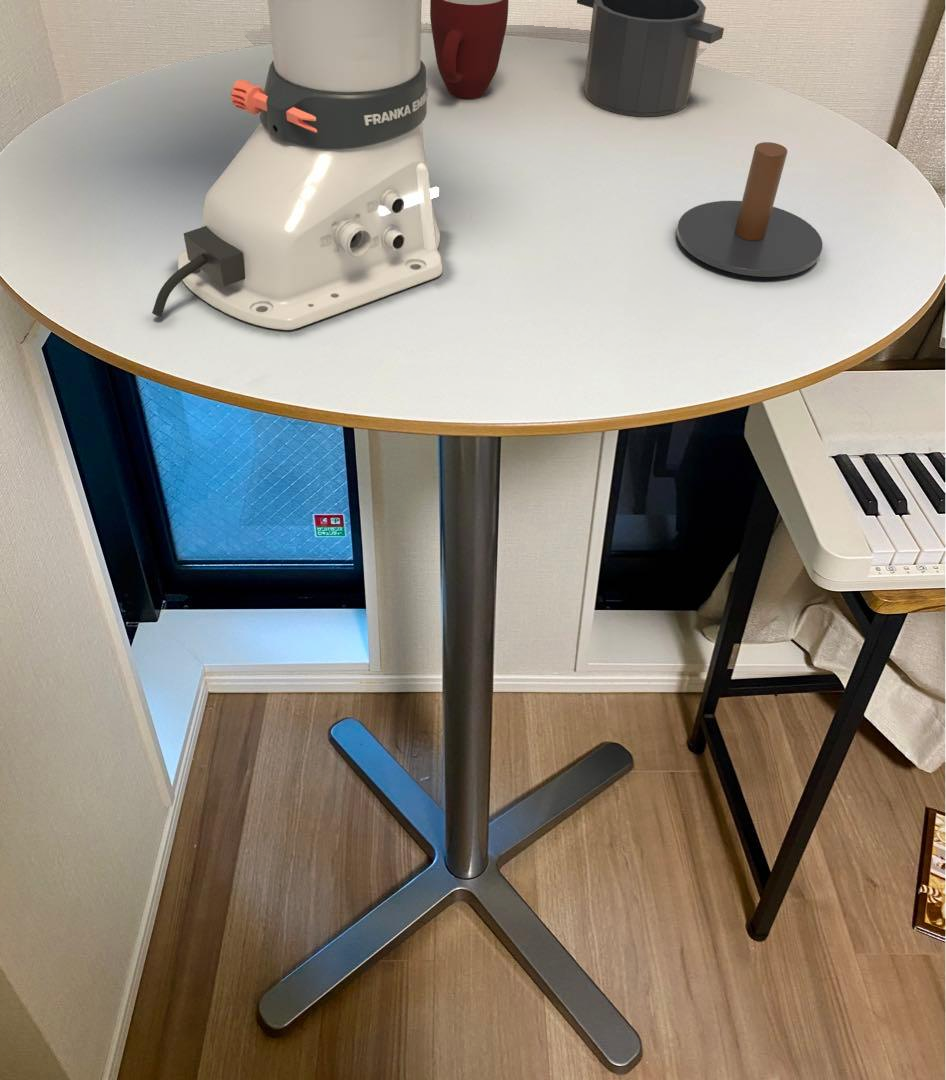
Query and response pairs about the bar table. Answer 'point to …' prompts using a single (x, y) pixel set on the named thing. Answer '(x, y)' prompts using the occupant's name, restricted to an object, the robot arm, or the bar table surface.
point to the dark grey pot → (644, 54)
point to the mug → (468, 43)
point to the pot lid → (752, 226)
